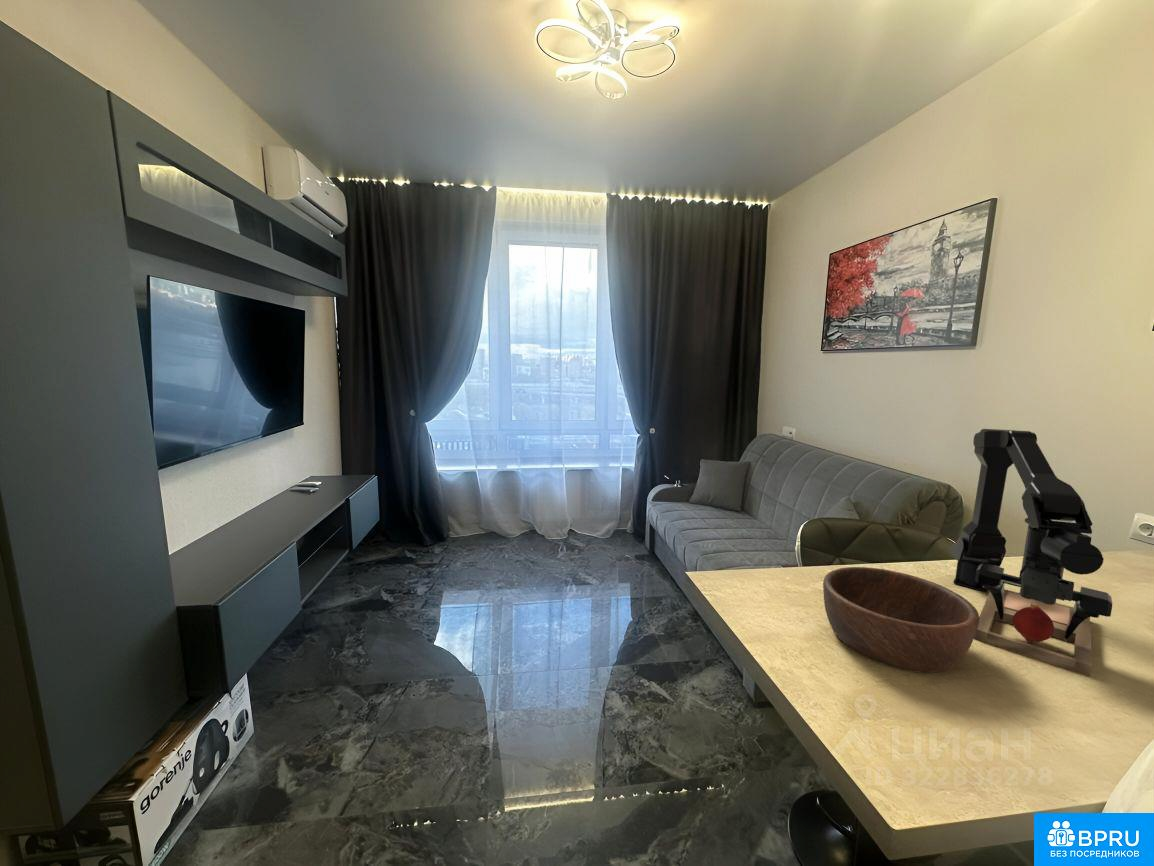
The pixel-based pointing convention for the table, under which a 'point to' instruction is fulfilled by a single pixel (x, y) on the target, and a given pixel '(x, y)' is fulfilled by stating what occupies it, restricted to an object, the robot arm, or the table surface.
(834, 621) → the wooden bowl
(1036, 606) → the onion
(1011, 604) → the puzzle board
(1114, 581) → the table surface
